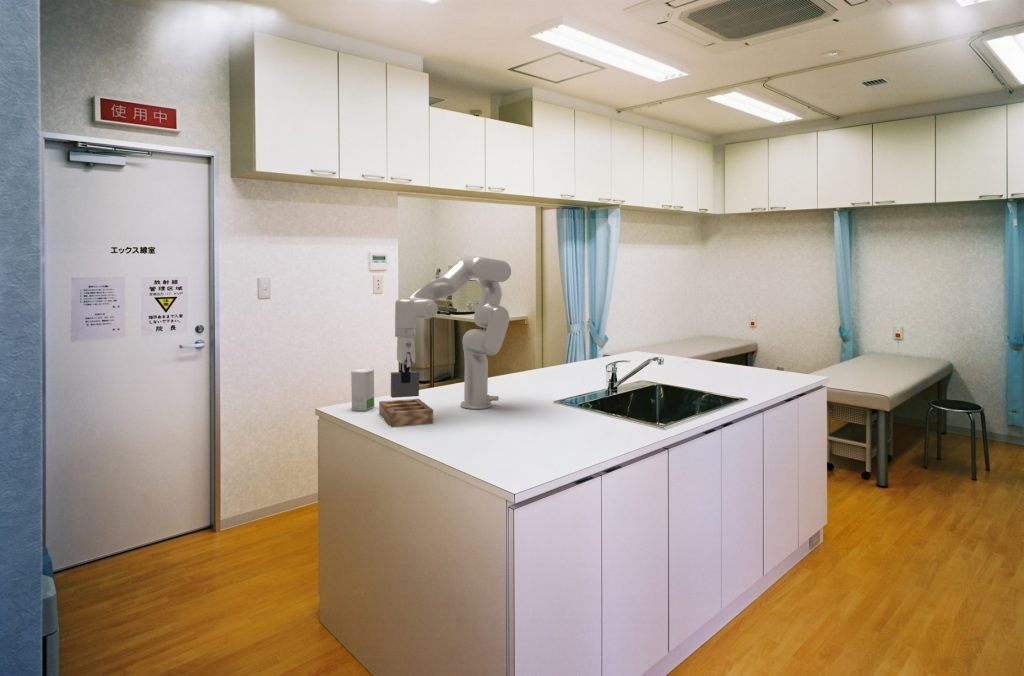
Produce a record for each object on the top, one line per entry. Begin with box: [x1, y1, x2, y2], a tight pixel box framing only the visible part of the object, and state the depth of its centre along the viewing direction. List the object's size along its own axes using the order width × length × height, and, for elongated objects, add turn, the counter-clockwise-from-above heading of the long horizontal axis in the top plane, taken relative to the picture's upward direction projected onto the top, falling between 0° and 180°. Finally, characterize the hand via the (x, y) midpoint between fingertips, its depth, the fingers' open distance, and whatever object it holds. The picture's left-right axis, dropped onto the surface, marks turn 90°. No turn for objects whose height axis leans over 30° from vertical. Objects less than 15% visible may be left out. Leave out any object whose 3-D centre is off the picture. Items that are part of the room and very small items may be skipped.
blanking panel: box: [390, 370, 420, 399], centre depth 227 cm, size 10×2×9 cm, turn 114°
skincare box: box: [350, 368, 375, 412], centre depth 242 cm, size 8×7×16 cm
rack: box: [378, 398, 434, 428], centre depth 228 cm, size 16×20×6 cm
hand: (404, 381), depth 227 cm, fingers closed on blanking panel, 2 cm apart
